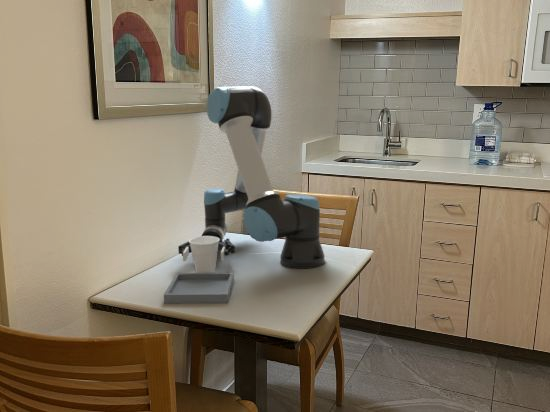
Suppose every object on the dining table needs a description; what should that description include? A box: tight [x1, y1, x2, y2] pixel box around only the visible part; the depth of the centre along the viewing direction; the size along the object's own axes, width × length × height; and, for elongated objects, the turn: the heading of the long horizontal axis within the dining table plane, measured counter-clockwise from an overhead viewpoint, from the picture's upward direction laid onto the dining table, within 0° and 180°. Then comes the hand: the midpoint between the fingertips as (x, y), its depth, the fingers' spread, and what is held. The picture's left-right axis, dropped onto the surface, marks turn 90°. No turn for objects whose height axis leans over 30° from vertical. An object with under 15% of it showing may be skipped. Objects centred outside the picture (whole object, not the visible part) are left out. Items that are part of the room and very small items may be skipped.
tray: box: [163, 272, 235, 304], centre depth 162 cm, size 18×18×2 cm
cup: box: [188, 235, 220, 273], centre depth 178 cm, size 10×10×11 cm
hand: (203, 256), depth 174 cm, fingers open, 11 cm apart
